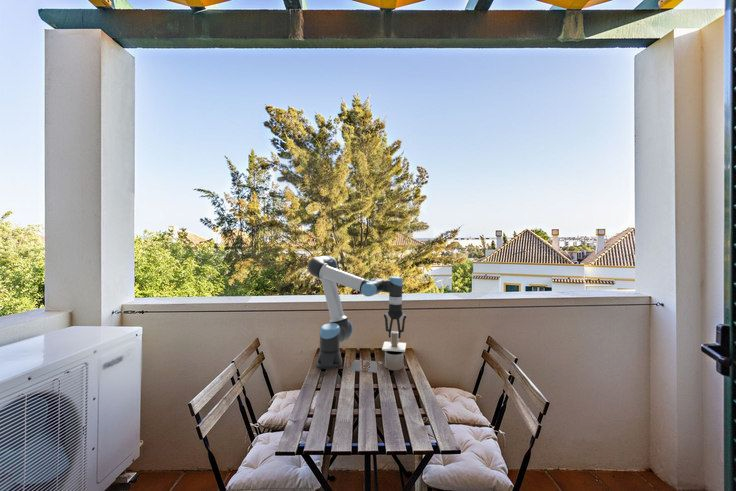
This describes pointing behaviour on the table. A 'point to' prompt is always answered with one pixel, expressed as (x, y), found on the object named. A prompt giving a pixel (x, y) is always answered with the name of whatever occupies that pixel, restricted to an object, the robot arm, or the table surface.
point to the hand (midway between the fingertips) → (394, 343)
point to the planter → (394, 360)
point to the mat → (356, 367)
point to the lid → (394, 344)
